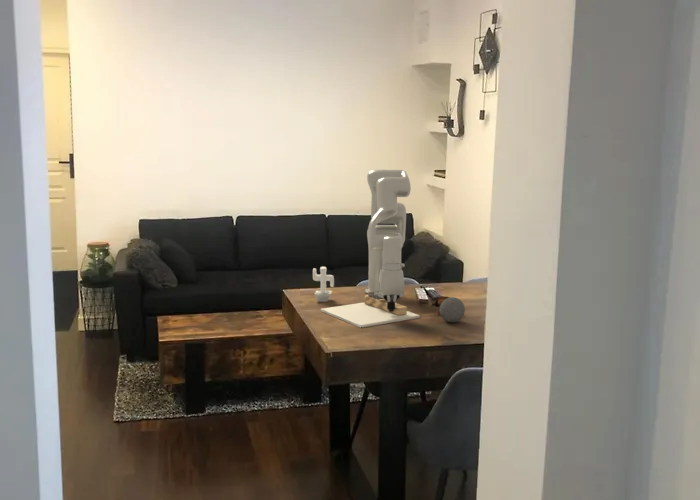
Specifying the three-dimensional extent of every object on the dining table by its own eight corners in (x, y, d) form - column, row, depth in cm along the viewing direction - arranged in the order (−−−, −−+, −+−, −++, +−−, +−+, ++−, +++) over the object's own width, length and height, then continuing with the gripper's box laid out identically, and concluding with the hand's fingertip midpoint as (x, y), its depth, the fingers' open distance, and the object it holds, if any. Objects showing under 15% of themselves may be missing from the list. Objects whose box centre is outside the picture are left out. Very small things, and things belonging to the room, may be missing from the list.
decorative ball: (448, 317, 309) (448, 293, 307) (469, 321, 303) (470, 297, 301) (434, 322, 301) (435, 297, 300) (456, 326, 295) (456, 301, 293)
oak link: (362, 302, 327) (362, 291, 326) (372, 301, 330) (372, 289, 329) (397, 315, 306) (397, 303, 305) (408, 313, 309) (408, 301, 308)
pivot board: (377, 302, 333) (377, 300, 333) (419, 317, 308) (419, 315, 308) (320, 311, 317) (320, 308, 317) (360, 327, 292) (360, 325, 292)
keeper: (390, 305, 324) (390, 291, 323) (394, 307, 321) (394, 293, 320) (373, 308, 319) (373, 294, 318) (377, 309, 316) (377, 295, 315)
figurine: (332, 302, 332) (333, 269, 330) (311, 301, 333) (311, 268, 331) (334, 298, 339) (334, 265, 337) (313, 298, 340) (313, 265, 338)
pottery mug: (430, 316, 312) (428, 297, 315) (436, 321, 320) (434, 303, 323) (458, 311, 308) (456, 292, 311) (464, 317, 316) (462, 298, 319)
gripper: (407, 264, 309) (406, 308, 312) (371, 265, 307) (371, 309, 310) (412, 268, 302) (411, 312, 305) (375, 268, 300) (374, 313, 303)
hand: (390, 310), depth 308 cm, fingers closed
